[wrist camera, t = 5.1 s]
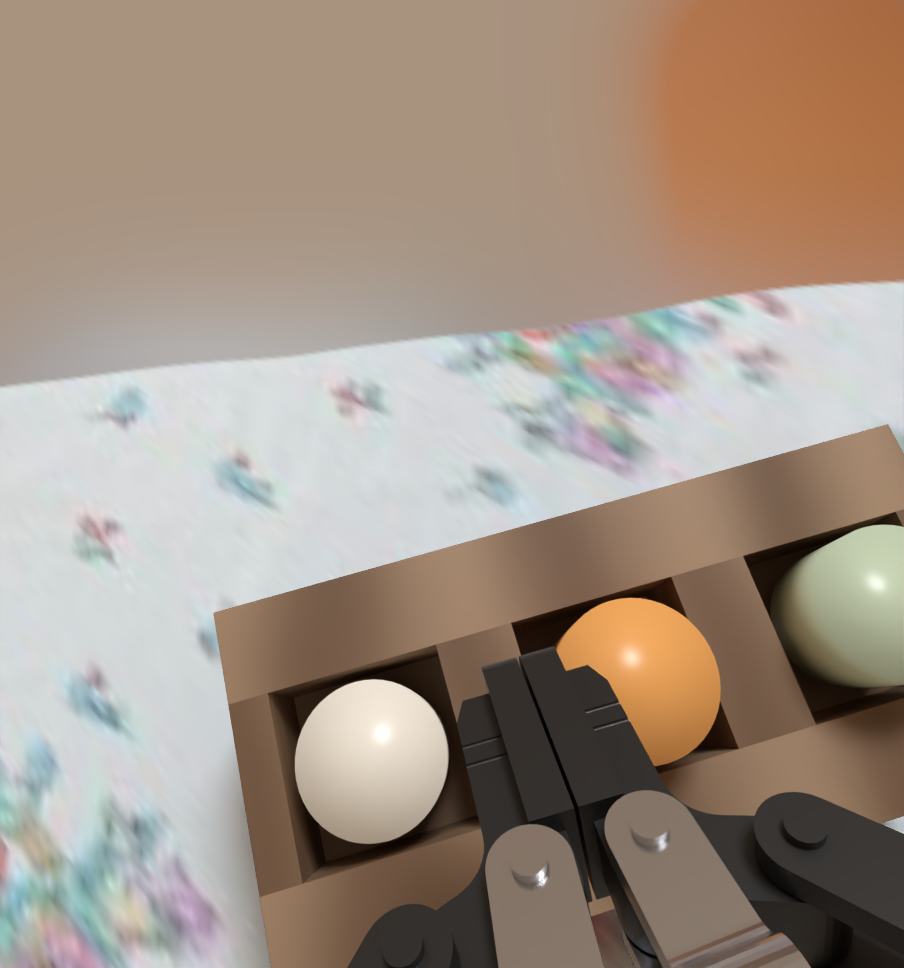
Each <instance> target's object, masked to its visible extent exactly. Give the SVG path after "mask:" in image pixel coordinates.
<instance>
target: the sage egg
mask: <svg viewBox="0 0 904 968" xmlns="http://www.w3.org/2000/svg"><path fill="white" fill-rule="evenodd" d="M770 613H771V621H772V624H773V627H774V629H775V631H776V634H777V636H778V638H779V640H780V643H781V645H782V647H783V650H784V652H785V653H786V655H787V656H788V657H789V658H790V660H791V661H792V662H793V663H794V664H795V665H796V666H797V667H798V668H799V669H801V670H802V671H803V672H804V673H806V674H807V675H809V676H810V677H812V678H814V679H815V680H817V681H819V682H821V683H824V684H826V685H829V686H832V687H836V688H842V689H853V690H854V689H866V688H876V687H886V686H896V685H904V527H901V526H895V525H872V526H868V527H863V528H860V529H858V530H855V531H853V532H851V533H849V534H847V535H845V536H843V537H841V538H839V539H837V540H835V541H833V542H831V543H829V544H827V545H825V546H823V547H821V548H820V549H818V550H816V551H814V552H812V553H810V554H808V555H806V556H804V557H802V558H800V559H798V560H796V561H795V562H793V563H792V564H791V565H789V566H788V567H787V568H786V569H785V570H784V571H783V573H782V574H781V575H780V577H779V578H778V580H777V582H776V584H775V586H774V589H773V592H772V597H771V603H770Z"/></svg>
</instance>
